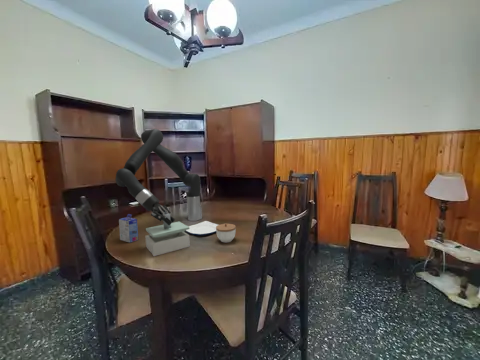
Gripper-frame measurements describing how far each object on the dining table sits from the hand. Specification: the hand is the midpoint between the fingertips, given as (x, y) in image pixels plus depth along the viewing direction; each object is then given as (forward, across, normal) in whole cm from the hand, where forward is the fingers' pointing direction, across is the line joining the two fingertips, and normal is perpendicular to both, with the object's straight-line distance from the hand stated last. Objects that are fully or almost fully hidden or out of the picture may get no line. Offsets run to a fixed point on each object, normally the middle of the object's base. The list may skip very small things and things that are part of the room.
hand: (172, 222), depth 117 cm
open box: (+7, -1, +11) cm, 13 cm away
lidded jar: (+28, +8, -10) cm, 30 cm away
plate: (+17, +24, +2) cm, 29 cm away
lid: (+1, 0, +5) cm, 5 cm away
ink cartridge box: (-11, +8, +30) cm, 33 cm away
